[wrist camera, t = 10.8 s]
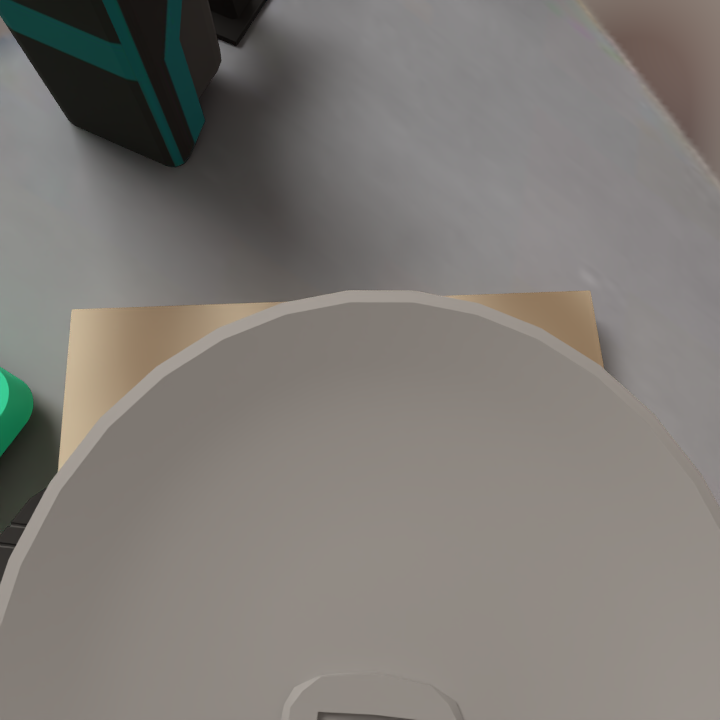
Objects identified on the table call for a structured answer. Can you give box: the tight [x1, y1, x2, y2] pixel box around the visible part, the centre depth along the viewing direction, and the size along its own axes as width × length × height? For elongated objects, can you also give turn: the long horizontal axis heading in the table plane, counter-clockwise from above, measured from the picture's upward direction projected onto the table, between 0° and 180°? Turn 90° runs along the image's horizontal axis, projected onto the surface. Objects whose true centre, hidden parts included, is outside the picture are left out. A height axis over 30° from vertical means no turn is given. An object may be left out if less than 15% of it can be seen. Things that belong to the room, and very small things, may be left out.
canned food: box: [0, 290, 720, 720], centre depth 11 cm, size 8×8×11 cm
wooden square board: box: [58, 291, 604, 471], centre depth 18 cm, size 18×18×2 cm
